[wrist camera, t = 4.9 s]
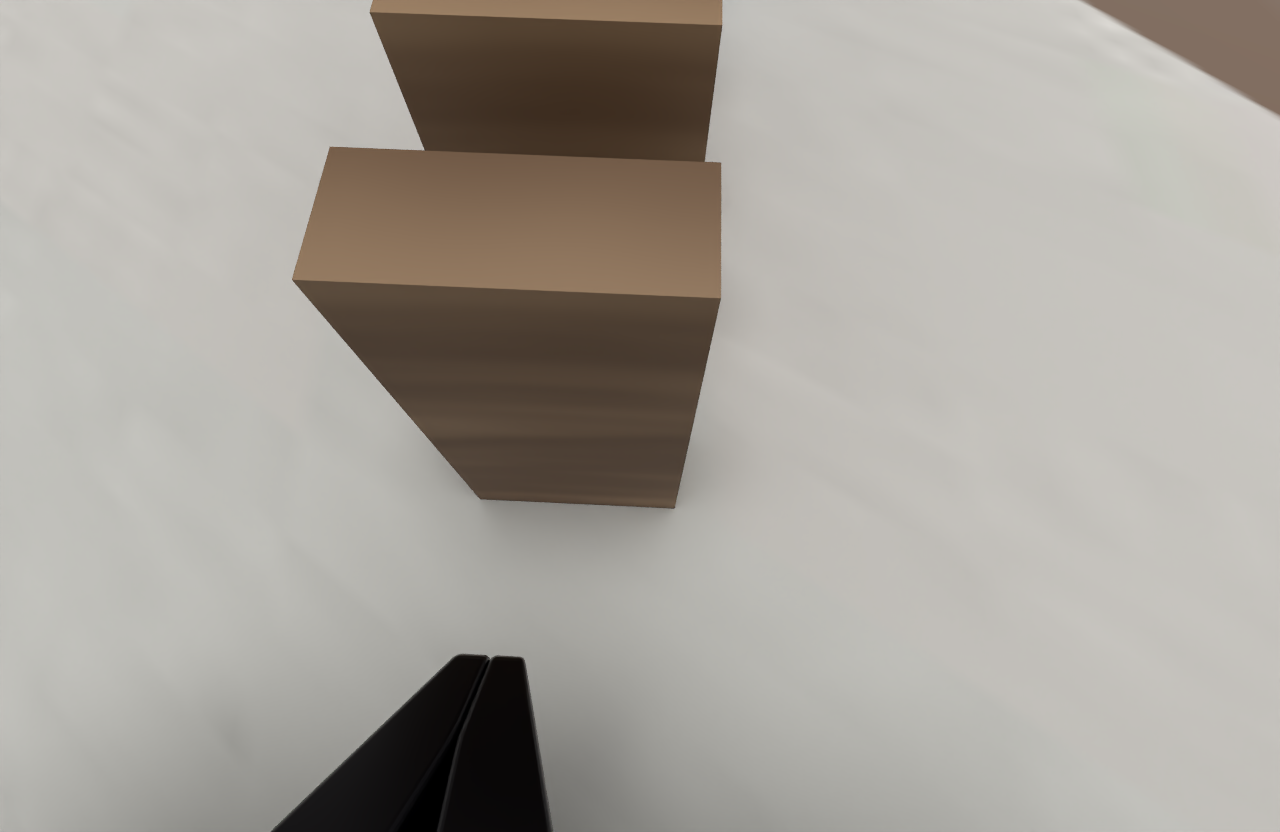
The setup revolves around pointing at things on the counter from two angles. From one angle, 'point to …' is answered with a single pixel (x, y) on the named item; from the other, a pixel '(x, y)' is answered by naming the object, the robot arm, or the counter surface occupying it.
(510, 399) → the domino
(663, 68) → the domino
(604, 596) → the counter surface
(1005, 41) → the counter surface
